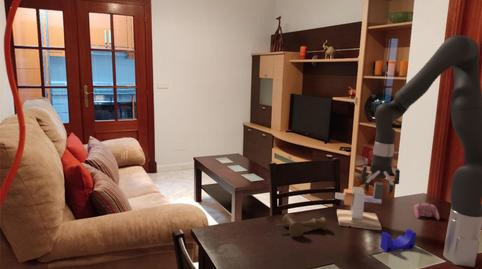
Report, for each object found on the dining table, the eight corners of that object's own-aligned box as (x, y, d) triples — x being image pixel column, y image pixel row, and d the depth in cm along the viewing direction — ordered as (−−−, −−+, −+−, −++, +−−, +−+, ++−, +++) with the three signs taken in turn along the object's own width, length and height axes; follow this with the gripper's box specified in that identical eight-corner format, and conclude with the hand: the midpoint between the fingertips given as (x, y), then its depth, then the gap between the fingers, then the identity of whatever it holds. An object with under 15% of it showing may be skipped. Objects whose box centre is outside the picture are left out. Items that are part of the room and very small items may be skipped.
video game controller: (435, 220, 153) (434, 204, 155) (440, 220, 148) (439, 203, 150) (412, 218, 154) (411, 202, 156) (416, 218, 149) (416, 201, 151)
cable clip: (404, 242, 129) (406, 227, 128) (413, 248, 125) (416, 233, 124) (377, 245, 126) (379, 230, 125) (385, 252, 121) (388, 236, 120)
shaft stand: (381, 230, 138) (385, 198, 135) (339, 225, 140) (342, 193, 138) (374, 216, 150) (378, 186, 147) (336, 212, 153) (339, 183, 150)
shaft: (381, 204, 141) (383, 185, 139) (335, 199, 144) (337, 180, 142) (379, 201, 144) (382, 182, 142) (334, 196, 147) (336, 178, 145)
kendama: (330, 236, 132) (280, 238, 128) (319, 225, 141) (272, 227, 137) (331, 221, 131) (281, 223, 127) (320, 211, 140) (273, 212, 136)
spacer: (351, 205, 142) (353, 193, 141) (344, 204, 142) (345, 192, 141) (350, 200, 147) (351, 189, 146) (342, 199, 147) (344, 188, 146)
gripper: (365, 154, 136) (361, 193, 139) (404, 157, 133) (398, 197, 137) (362, 149, 143) (358, 187, 146) (399, 152, 141) (394, 190, 144)
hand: (377, 192), depth 142 cm, fingers open, 8 cm apart
